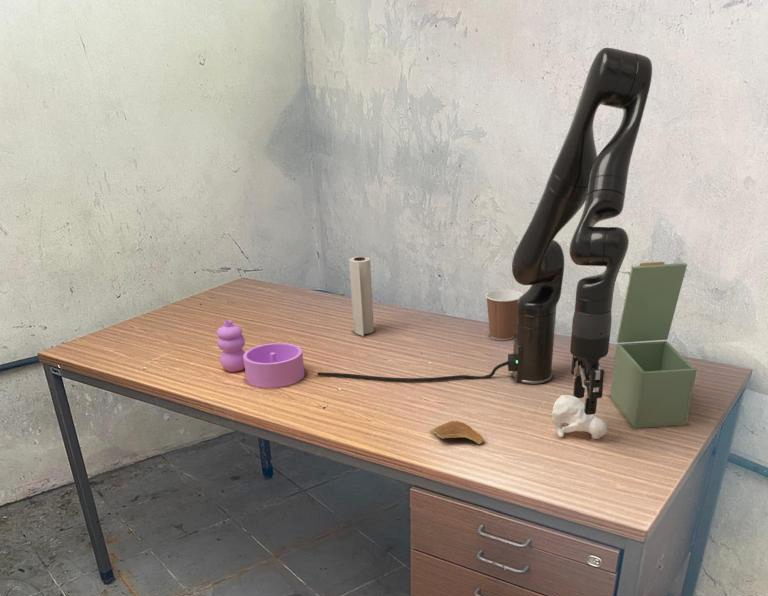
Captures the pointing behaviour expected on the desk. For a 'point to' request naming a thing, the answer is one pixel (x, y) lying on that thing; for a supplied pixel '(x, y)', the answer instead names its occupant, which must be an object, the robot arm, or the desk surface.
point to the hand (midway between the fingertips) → (584, 405)
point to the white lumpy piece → (575, 418)
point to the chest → (652, 384)
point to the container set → (260, 359)
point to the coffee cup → (502, 313)
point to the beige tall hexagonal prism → (361, 295)
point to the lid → (650, 301)
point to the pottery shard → (457, 431)
